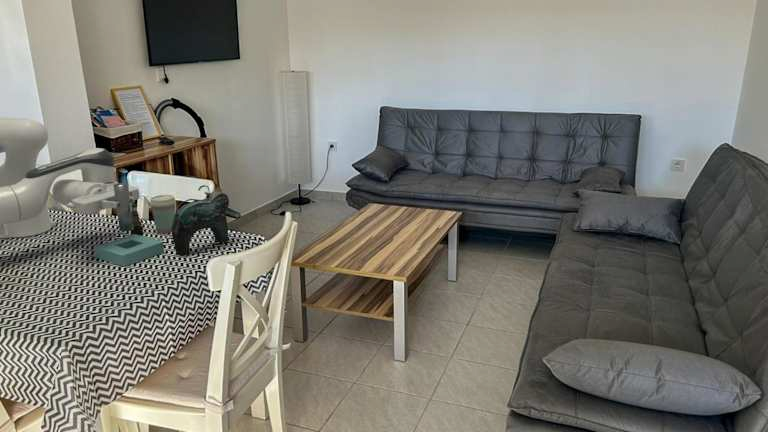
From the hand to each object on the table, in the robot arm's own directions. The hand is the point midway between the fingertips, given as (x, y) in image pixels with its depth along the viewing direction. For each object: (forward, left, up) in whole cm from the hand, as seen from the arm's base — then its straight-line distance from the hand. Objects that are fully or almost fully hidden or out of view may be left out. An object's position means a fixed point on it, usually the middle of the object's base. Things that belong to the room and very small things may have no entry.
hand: (125, 202), depth 174 cm
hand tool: (-23, +17, -17) cm, 33 cm away
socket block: (-1, 0, -17) cm, 17 cm away
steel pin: (-1, 0, -8) cm, 9 cm away
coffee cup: (-11, +21, -17) cm, 29 cm away
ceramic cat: (+13, +17, -17) cm, 27 cm away
